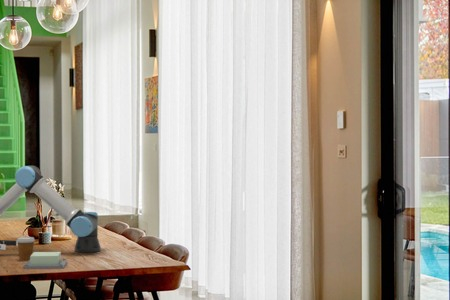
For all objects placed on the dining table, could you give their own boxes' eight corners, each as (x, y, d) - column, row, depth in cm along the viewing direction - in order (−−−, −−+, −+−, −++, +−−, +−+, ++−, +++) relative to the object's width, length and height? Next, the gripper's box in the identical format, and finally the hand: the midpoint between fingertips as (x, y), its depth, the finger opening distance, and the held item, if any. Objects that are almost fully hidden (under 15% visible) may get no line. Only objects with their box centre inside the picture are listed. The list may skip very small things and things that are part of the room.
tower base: (67, 262, 412) (67, 250, 412) (63, 268, 392) (63, 256, 392) (28, 262, 410) (29, 251, 409) (23, 268, 390) (23, 257, 390)
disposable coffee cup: (25, 261, 412) (25, 239, 411) (12, 260, 417) (13, 238, 416) (38, 259, 420) (38, 237, 420) (26, 257, 425) (26, 236, 425)
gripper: (7, 246, 445) (32, 250, 433) (-29, 251, 424) (-4, 255, 412) (7, 233, 445) (32, 236, 433) (-29, 238, 424) (-4, 241, 412)
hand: (15, 245), depth 423 cm, fingers open, 13 cm apart
